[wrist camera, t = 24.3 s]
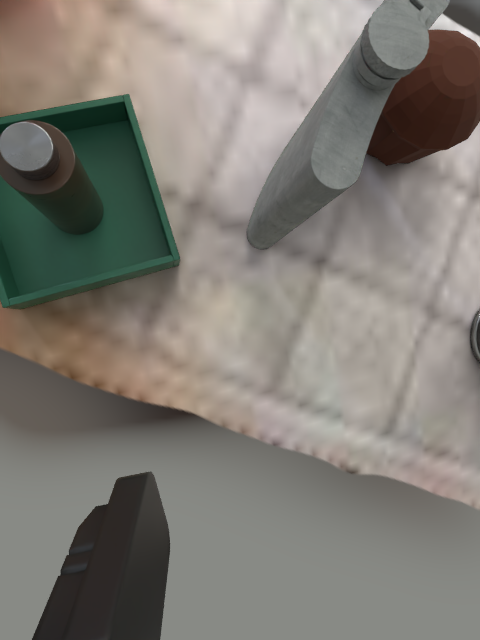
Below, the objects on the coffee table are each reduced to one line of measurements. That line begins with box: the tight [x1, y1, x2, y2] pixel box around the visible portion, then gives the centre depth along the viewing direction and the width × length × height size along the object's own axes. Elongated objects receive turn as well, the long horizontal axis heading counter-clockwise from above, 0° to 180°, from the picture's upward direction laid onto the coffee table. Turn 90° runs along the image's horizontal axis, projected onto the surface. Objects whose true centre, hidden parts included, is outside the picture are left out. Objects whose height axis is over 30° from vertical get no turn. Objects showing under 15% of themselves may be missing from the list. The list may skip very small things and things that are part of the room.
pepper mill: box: [0, 120, 103, 235], centre depth 28 cm, size 5×5×12 cm
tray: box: [0, 94, 180, 309], centre depth 33 cm, size 15×15×4 cm
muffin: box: [366, 30, 480, 166], centre depth 37 cm, size 12×11×10 cm
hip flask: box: [247, 0, 450, 249], centre depth 29 cm, size 16×4×20 cm, turn 152°
